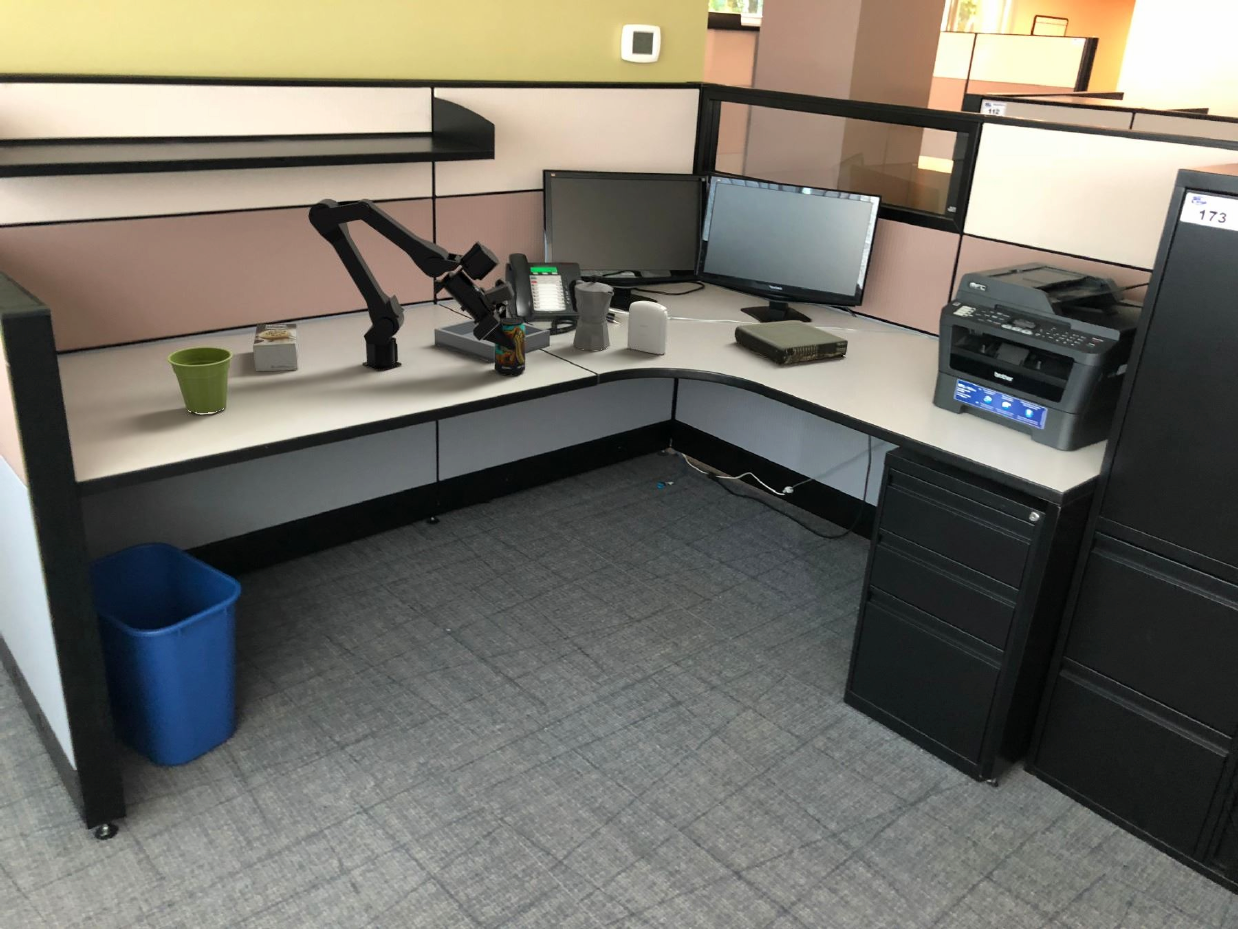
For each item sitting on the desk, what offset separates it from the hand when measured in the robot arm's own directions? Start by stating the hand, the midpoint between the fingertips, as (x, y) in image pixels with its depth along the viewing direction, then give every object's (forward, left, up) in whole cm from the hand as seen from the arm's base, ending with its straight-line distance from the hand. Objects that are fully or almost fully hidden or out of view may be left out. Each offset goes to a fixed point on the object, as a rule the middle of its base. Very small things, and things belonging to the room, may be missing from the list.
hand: (516, 344), depth 230 cm
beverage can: (-1, +1, -7) cm, 7 cm away
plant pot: (-62, +26, -7) cm, 67 cm away
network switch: (+64, -36, -7) cm, 74 cm away
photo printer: (+36, -11, -7) cm, 38 cm away
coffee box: (-38, +37, -3) cm, 53 cm away
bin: (+11, +18, -7) cm, 22 cm away
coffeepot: (+29, +2, -7) cm, 30 cm away
